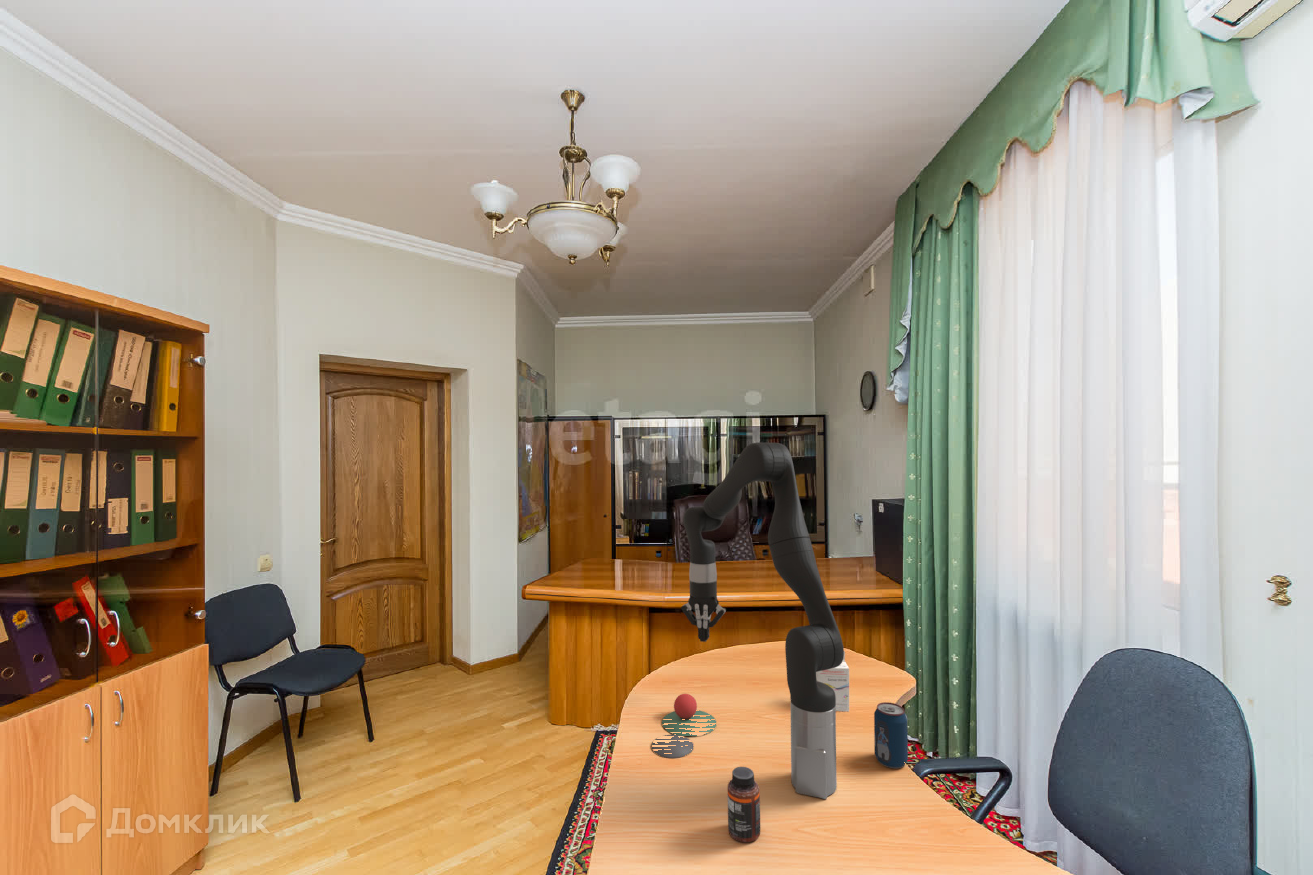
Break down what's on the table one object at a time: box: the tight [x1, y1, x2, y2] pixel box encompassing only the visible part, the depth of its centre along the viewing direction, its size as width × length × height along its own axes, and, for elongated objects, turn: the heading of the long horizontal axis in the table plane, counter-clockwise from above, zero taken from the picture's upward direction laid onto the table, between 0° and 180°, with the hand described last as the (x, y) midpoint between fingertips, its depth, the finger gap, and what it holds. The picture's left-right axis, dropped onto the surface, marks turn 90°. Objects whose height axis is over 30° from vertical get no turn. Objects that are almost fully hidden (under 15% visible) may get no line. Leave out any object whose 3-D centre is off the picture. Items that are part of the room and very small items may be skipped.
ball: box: [673, 693, 698, 719], centre depth 151 cm, size 6×6×6 cm
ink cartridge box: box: [816, 650, 850, 712], centre depth 156 cm, size 9×5×15 cm, turn 84°
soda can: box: [873, 701, 909, 769], centre depth 130 cm, size 7×7×12 cm
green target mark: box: [661, 709, 717, 736], centre depth 148 cm, size 14×14×1 cm
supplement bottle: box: [726, 766, 761, 843], centre depth 107 cm, size 6×6×11 cm
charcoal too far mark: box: [651, 734, 694, 759], centre depth 137 cm, size 10×10×1 cm
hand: (703, 640), depth 160 cm, fingers closed
